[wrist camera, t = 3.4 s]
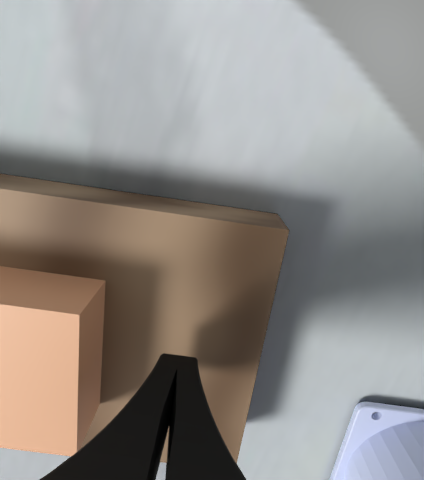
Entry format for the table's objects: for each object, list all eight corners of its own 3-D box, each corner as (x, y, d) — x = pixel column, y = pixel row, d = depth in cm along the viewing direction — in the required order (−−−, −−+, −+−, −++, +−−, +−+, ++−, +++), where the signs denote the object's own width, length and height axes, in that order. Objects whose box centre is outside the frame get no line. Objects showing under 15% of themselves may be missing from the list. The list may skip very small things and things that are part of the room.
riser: (277, 214, 14) (289, 230, 12) (232, 426, 18) (234, 471, 16) (-63, 164, 14) (-120, 171, 11) (-37, 392, 18) (-76, 432, 15)
